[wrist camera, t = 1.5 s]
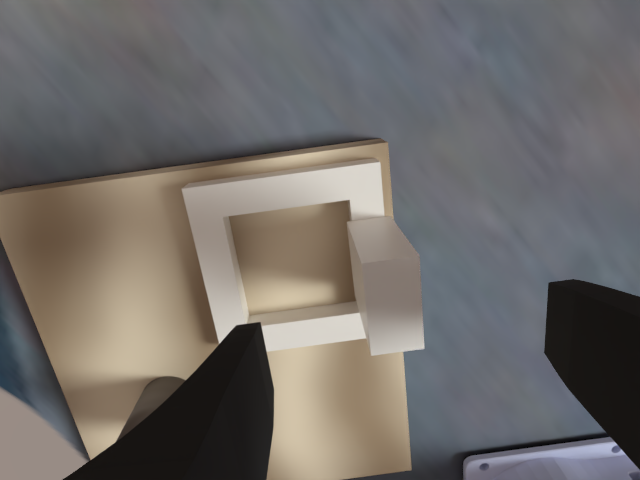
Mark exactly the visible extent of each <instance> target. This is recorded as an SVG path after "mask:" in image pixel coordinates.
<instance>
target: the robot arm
mask: <svg viewBox="0 0 640 480" xmlns="http://www.w3.org/2000/svg"><path fill="white" fill-rule="evenodd" d="M544 353H545V355H546V356H547V358H548V359H549V361H550V362H551V364H552V366H553V367H554V369H555V370H556V372H557V373H558V375H559V376H560V378H561V379H562V381H563V382H564V383H565V385H566V386H567V388H568V389H569V390H570V391H571V392H572V394H573V395H574V396H575V397H576V398H577V399H578V401H579V402H580V403H581V404H582V405H583V406H584V408H585V409H586V410H587V411H588V412H589V413H590V414H591V416H592V417H593V418H594V419H595V420H596V421H597V422H598V424H599V425H600V426H601V427H602V428H603V429H604V430H605V431H606V433H607V434H608V435H609V436H610V437H606V438H598V439H591V440H584V441H576V442H569V443H561V444H554V445H546V446H539V447H532V448H524V449H517V450H509V451H502V452H494V453H487V454H480V455H472V456H469V457H467V458H466V459H465V460H464V462H463V480H640V297H638V296H635V295H632V294H628V293H625V292H622V291H618V290H615V289H612V288H608V287H604V286H601V285H597V284H593V283H589V282H585V281H580V280H574V279H572V280H564V281H557V282H550V283H549V286H548V302H547V318H546V334H545V351H544ZM273 428H274V386H273V381H272V376H271V371H270V366H269V361H268V356H267V351H266V346H265V341H264V337H263V332H262V327H261V322H256V323H249V324H241V325H236V326H235V327H234V328H233V329H232V330H231V331H230V332H229V334H228V335H227V336H226V337H225V338H224V339H223V340H222V342H221V343H220V344H219V345H218V346H217V347H216V348H215V350H214V351H213V352H212V353H211V354H210V355H209V356H208V357H207V358H206V360H205V361H204V362H203V363H202V364H201V365H200V366H199V367H198V368H197V369H196V371H195V372H194V373H193V374H192V375H191V376H190V377H189V378H188V379H187V380H186V381H185V382H184V383H183V384H182V385H181V386H180V387H179V388H178V389H177V390H176V391H175V392H174V393H173V394H172V395H171V396H170V397H169V398H167V399H166V400H165V401H164V402H163V403H162V404H161V405H160V406H159V407H158V408H157V409H156V410H154V411H153V412H152V413H151V414H150V415H149V416H148V417H146V418H145V419H144V420H143V421H142V422H140V423H139V424H138V425H137V426H135V427H134V428H133V429H132V430H131V431H129V432H128V433H127V434H126V435H124V436H123V437H122V438H121V439H119V440H118V441H117V442H115V443H114V444H112V445H111V446H110V447H108V448H107V449H105V450H104V451H103V452H101V453H100V454H99V455H97V456H96V457H94V458H93V459H92V460H90V461H89V462H87V463H86V464H85V465H83V466H82V467H81V468H79V469H78V470H77V471H75V472H73V473H72V474H70V475H69V476H68V477H66V478H64V479H63V480H266V479H267V472H268V465H269V458H270V450H271V443H272V436H273ZM483 463H484V464H483Z"/></svg>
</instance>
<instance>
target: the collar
mask: <svg viewBox="0 0 640 480" xmlns="http://www.w3.org/2000/svg"><path fill="white" fill-rule="evenodd" d="M182 193H183V197H184V201H185V206H186V210H187V214H188V218H189V222H190V226H191V230H192V234H193V238H194V243H195V247H196V251H197V255H198V259H199V263H200V267H201V271H202V275H203V280H204V284H205V288H206V292H207V296H208V300H209V304H210V308H211V312H212V317H213V321H214V325H215V329H216V333H217V337H218V341H219V344H220V343H221V342H222V340H223V339H224V338H225V337H226V336H227V335H228V334H229V332H230V331H231V330H232V329H233V328H234V327H235V326H236V325H241V324H249V323H256V322H261V327H262V332H263V337H264V341H265V346H266V351H267V352H269V351H276V350H284V349H291V348H298V347H306V346H313V345H321V344H328V343H335V342H343V341H350V340H358V339H365V338H366V339H367V342H368V346H369V350H370V354H371V356H374V355H381V354H389V353H396V352H403V351H411V350H418V349H424V333H423V314H422V295H421V276H420V257H419V254H418V253H417V252H416V250H415V249H414V248H413V246H412V245H411V244H410V242H409V241H408V239H407V238H406V237H405V235H404V234H403V233H402V231H401V230H400V229H399V227H398V226H397V225H396V223H395V222H394V220H393V219H392V218H391V216H385V215H384V202H383V190H382V177H381V165H380V161H379V160H377V159H376V158H370V159H363V160H356V161H348V162H341V163H334V164H326V165H319V166H312V167H304V168H297V169H289V170H282V171H275V172H267V173H260V174H253V175H245V176H238V177H231V178H223V179H216V180H209V181H201V182H194V183H188V184H187V185H186V186H185V187H183V188H182ZM344 200H348V209H349V218H350V221H348V222H347V230H348V239H349V248H350V257H351V266H352V275H353V283H354V292H355V298H356V301H353V302H345V303H338V304H330V305H323V306H316V307H308V308H301V309H294V310H286V311H279V312H271V313H264V314H257V315H249V311H248V307H247V302H246V297H245V292H244V287H243V283H242V278H241V273H240V268H239V264H238V259H237V254H236V249H235V245H234V240H233V235H232V230H231V225H230V221H229V216H234V215H241V214H249V213H256V212H264V211H271V210H278V209H286V208H293V207H300V206H308V205H315V204H322V203H330V202H337V201H344Z"/></svg>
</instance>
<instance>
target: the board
mask: <svg viewBox="0 0 640 480" xmlns="http://www.w3.org/2000/svg"><path fill="white" fill-rule="evenodd" d="M370 158H376V159H377V160H379V161H380V165H381V177H382V190H383V202H384V215H385V216H391V218H392V219H393V207H392V193H391V179H390V166H389V152H388V142H386V141H384V140H383V139H381V138H379V139H372V140H365V141H357V142H350V143H343V144H335V145H328V146H321V147H313V148H306V149H299V150H291V151H284V152H277V153H269V154H262V155H255V156H247V157H240V158H233V159H225V160H218V161H210V162H203V163H196V164H188V165H181V166H174V167H166V168H159V169H152V170H144V171H137V172H130V173H122V174H115V175H108V176H100V177H93V178H86V179H78V180H71V181H64V182H56V183H49V184H42V185H34V186H27V187H20V188H12V189H8V190H5V191H2V192H0V238H1V241H2V243H3V246H4V248H5V251H6V253H7V256H8V258H9V261H10V263H11V265H12V268H13V270H14V273H15V275H16V278H17V280H18V283H19V285H20V288H21V290H22V293H23V295H24V297H25V300H26V302H27V305H28V307H29V310H30V312H31V315H32V317H33V320H34V322H35V324H36V327H37V329H38V332H39V334H40V337H41V339H42V342H43V344H44V347H45V349H46V352H47V354H48V356H49V359H50V361H51V364H52V366H53V369H54V371H55V374H56V376H57V379H58V381H59V383H60V386H61V388H62V391H63V393H64V396H65V398H66V401H67V403H68V406H69V408H70V411H71V413H72V415H73V418H74V420H75V423H76V425H77V428H78V430H79V433H80V435H81V438H82V440H83V443H84V445H85V447H86V450H87V452H88V455H89V457H90V460H92V459H93V458H94V457H96V456H97V455H99V454H100V453H101V452H103V451H104V450H105V449H107V448H108V447H110V446H111V445H112V444H114V443H115V442H117V441H118V440H119V439H121V438H122V437H123V436H124V435H126V434H127V433H128V432H129V431H131V430H132V429H133V428H134V427H135V426H137V425H138V424H139V423H140V422H142V421H143V420H144V419H145V418H146V417H148V416H149V415H150V414H151V413H152V412H153V411H154V410H156V409H157V408H158V407H159V406H160V405H161V404H162V403H163V402H164V401H165V400H166V399H167V398H169V397H170V396H171V395H172V394H173V393H174V392H175V391H176V390H177V389H178V388H179V387H180V386H181V385H182V384H183V383H184V382H185V381H186V380H187V379H188V378H189V377H190V376H191V375H192V374H193V373H194V372H195V371H196V369H197V368H198V367H199V366H200V365H201V364H202V363H203V362H204V361H205V360H206V358H207V357H208V356H209V355H210V354H211V353H212V352H213V351H214V350H215V348H216V347H217V346H218V345H219V341H218V337H217V333H216V329H215V325H214V321H213V317H212V312H211V308H210V304H209V300H208V296H207V292H206V288H205V284H204V280H203V275H202V271H201V267H200V263H199V259H198V255H197V251H196V247H195V243H194V238H193V234H192V230H191V226H190V222H189V218H188V214H187V210H186V206H185V201H184V197H183V193H182V188H183V187H185V186H186V185H187V184H188V183H194V182H201V181H209V180H216V179H223V178H231V177H238V176H245V175H253V174H260V173H267V172H275V171H282V170H289V169H297V168H304V167H312V166H319V165H326V164H334V163H341V162H348V161H356V160H363V159H370ZM229 221H230V225H231V230H232V235H233V240H234V245H235V249H236V254H237V259H238V264H239V268H240V273H241V278H242V283H243V287H244V292H245V297H246V302H247V307H248V311H249V315H257V314H264V313H271V312H279V311H286V310H294V309H301V308H308V307H316V306H323V305H330V304H338V303H345V302H353V301H356V298H355V292H354V283H353V275H352V266H351V257H350V248H349V239H348V230H347V222H348V221H350V218H349V209H348V200H344V201H337V202H330V203H322V204H315V205H308V206H300V207H293V208H286V209H278V210H271V211H264V212H256V213H249V214H241V215H234V216H229ZM267 356H268V361H269V366H270V371H271V376H272V381H273V386H274V428H273V436H272V443H271V450H270V458H269V465H268V472H267V479H266V480H343V479H350V478H357V477H365V476H372V475H380V474H387V473H395V472H402V471H409V470H412V467H411V454H410V440H409V426H408V413H407V399H406V385H405V371H404V358H403V352H396V353H389V354H381V355H374V356H371V354H370V350H369V346H368V342H367V339H366V338H365V339H358V340H350V341H343V342H335V343H328V344H321V345H313V346H306V347H298V348H291V349H284V350H276V351H269V352H267Z"/></svg>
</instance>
